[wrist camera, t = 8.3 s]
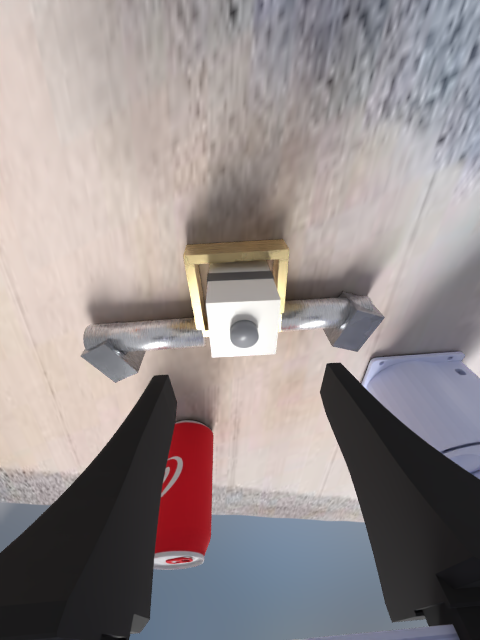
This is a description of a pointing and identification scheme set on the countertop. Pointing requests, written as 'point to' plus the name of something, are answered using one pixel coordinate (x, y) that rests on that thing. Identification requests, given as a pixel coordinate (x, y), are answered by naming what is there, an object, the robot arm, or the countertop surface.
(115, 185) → the countertop surface
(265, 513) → the countertop surface
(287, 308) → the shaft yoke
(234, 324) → the white knobbed block
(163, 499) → the beverage can
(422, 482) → the robot arm
